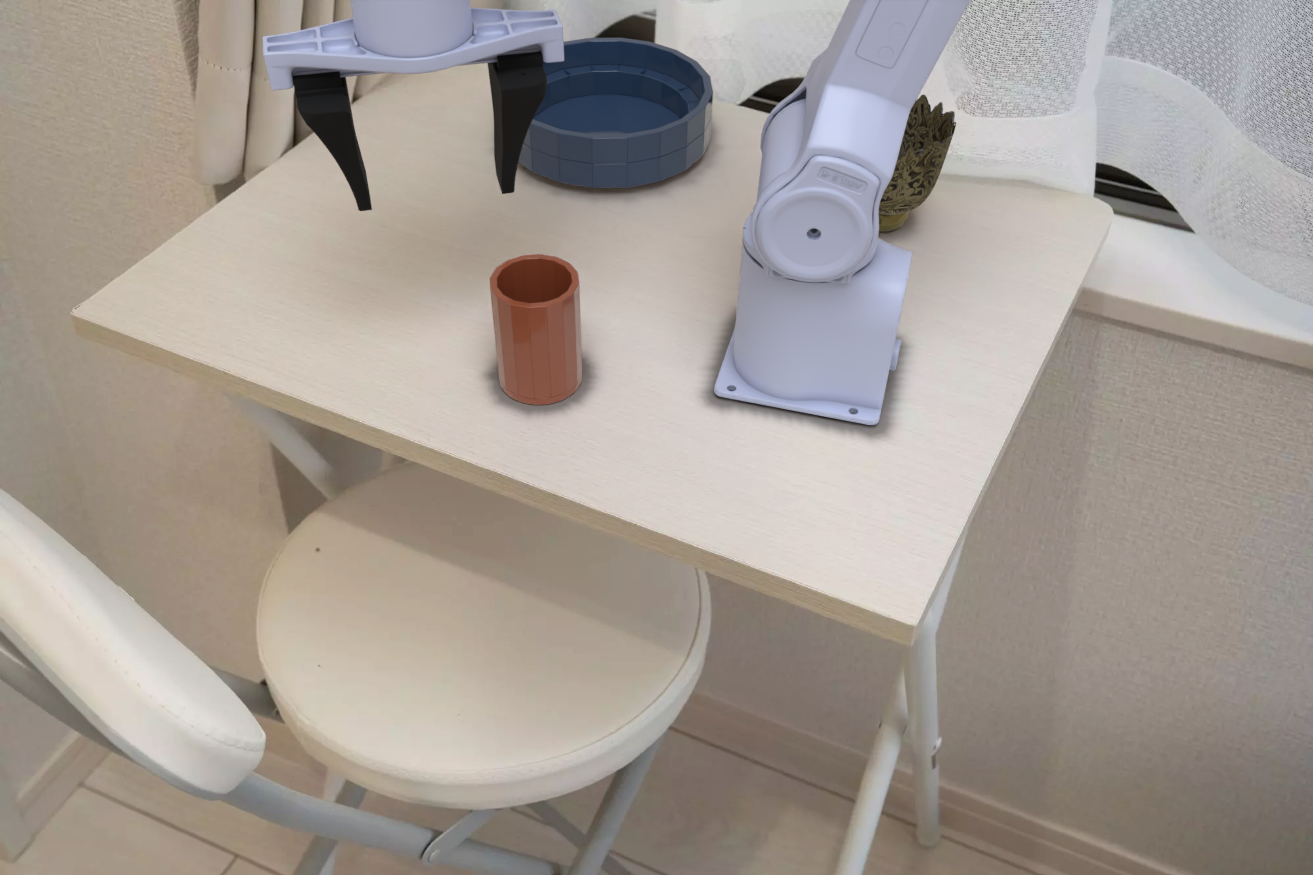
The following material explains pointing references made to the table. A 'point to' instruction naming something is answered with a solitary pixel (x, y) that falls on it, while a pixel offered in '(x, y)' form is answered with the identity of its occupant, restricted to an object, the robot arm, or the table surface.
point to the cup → (537, 328)
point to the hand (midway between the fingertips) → (435, 192)
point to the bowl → (619, 115)
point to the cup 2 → (917, 162)
